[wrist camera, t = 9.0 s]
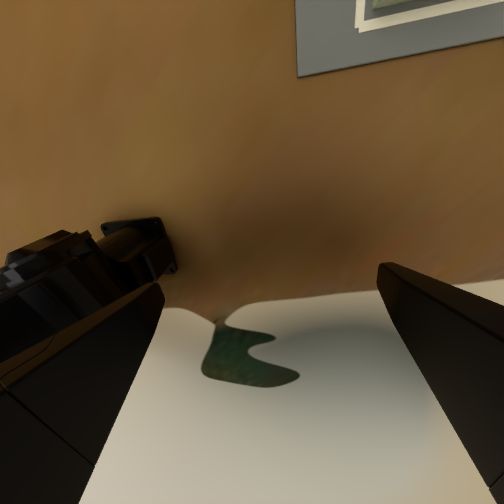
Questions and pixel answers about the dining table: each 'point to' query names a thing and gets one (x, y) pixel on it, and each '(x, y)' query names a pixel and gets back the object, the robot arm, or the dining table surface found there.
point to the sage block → (386, 3)
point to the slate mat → (387, 30)
